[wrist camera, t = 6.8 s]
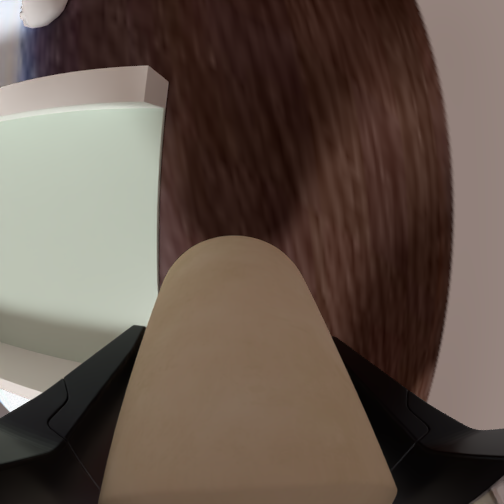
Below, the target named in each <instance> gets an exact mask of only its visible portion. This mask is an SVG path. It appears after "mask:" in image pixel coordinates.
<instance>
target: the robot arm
mask: <svg viewBox="0 0 504 504" xmlns="http://www.w3.org/2000/svg"><path fill="white" fill-rule="evenodd" d="M145 330H146V327H145V326H140V325H133V326H131V327H130V328H128V329H127V330H126V331H124V332H123V333H122V334H120V335H119V336H118V337H116V338H115V339H114V340H112V341H111V342H110V343H108V344H107V345H106V346H104V347H103V348H102V349H100V350H99V351H98V352H96V353H95V354H94V355H92V356H91V357H90V358H88V359H87V360H86V361H84V362H83V363H82V364H80V365H79V366H78V367H76V368H75V369H74V370H72V371H71V372H70V373H69V374H67V375H66V376H65V377H64V379H63V378H62V379H60V380H59V381H58V382H57V383H55V384H54V385H52V386H51V387H50V388H48V389H47V390H46V391H44V392H43V393H41V394H40V395H38V396H36V397H35V398H33V399H32V400H30V401H28V402H27V403H25V404H23V405H22V406H20V407H18V408H17V409H15V410H13V411H12V412H10V413H8V414H7V415H5V416H3V417H2V418H0V504H98V501H99V496H100V491H101V486H102V481H103V477H104V472H105V468H106V464H107V459H108V455H109V451H110V447H111V443H112V439H113V436H114V432H115V428H116V424H117V421H118V417H119V413H120V410H121V406H122V403H123V399H124V396H125V393H126V389H127V386H128V383H129V379H130V376H131V373H132V370H133V366H134V363H135V360H136V357H137V354H138V351H139V348H140V345H141V342H142V339H143V336H144V333H145ZM331 337H332V339H333V341H334V344H335V346H336V348H337V350H338V352H339V354H340V357H341V359H342V361H343V363H344V365H345V368H346V370H347V372H348V374H349V376H350V379H351V381H352V383H353V385H354V388H355V390H356V392H357V394H358V397H359V399H360V401H361V403H362V406H363V408H364V410H365V412H366V415H367V417H368V419H369V422H370V424H371V426H372V429H373V431H374V433H375V436H376V438H377V440H378V443H379V445H380V448H381V450H382V452H383V455H384V457H385V460H386V462H387V465H388V467H389V470H390V472H391V474H392V477H393V479H394V482H395V485H396V487H397V495H396V497H395V499H394V501H393V503H392V504H504V429H495V430H476V429H472V428H469V427H467V426H465V425H463V424H462V423H460V422H458V421H456V420H455V419H453V418H451V417H449V416H447V415H446V414H444V413H442V412H441V411H439V410H437V409H436V408H434V407H433V406H431V405H429V404H428V403H426V402H425V401H423V400H422V399H420V398H419V397H417V396H416V395H415V394H413V393H412V392H410V391H407V389H406V388H405V387H403V386H402V385H401V384H399V383H398V382H396V381H395V380H394V379H392V378H391V377H390V376H388V375H387V374H385V373H384V372H383V371H381V370H380V369H379V368H377V367H376V366H375V365H373V364H372V363H370V362H369V361H368V360H366V359H365V358H364V357H362V356H361V355H360V354H358V353H357V352H355V351H354V350H353V349H351V348H350V347H349V346H347V345H346V344H345V343H343V342H342V341H341V340H339V339H338V338H336V337H334V336H331Z"/></svg>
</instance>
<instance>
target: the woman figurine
mask: <svg viewBox="0 0 504 504" xmlns="http://www.w3.org/2000/svg"><path fill="white" fill-rule="evenodd" d="M67 1H68V0H22V6H21V8H22V11H21V12H20V19H21V20H22V19H23V23H24V26H26V27H29V28H38V27H43V26H46V25H48V24H50V23H51V22H52V21H53V20H55V19H56V18H57V17H58V16H59V15H60V14H61V13H62V12H63V10H64V9H65V6H66V4H67Z"/></svg>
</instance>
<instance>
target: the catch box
mask: <svg viewBox="0 0 504 504" xmlns="http://www.w3.org/2000/svg"><path fill="white" fill-rule="evenodd" d="M168 85H169V82H168V81H167V80H166V79H165V78H163V77H162V76H161V75H160V74H158V73H157V72H156V71H155V70H153V69H152V68H151V67H150V66H127V67H113V68H102V69H92V70H84V71H76V72H69V73H63V74H57V75H51V76H46V77H41V78H36V79H31V80H26V81H22V82H18V83H14V84H10V85H6V86H2V87H0V389H3V390H6V391H8V392H11V393H13V394H16V395H19V396H22V397H24V398H27V399H30V400H32V399H33V398H35V397H36V396H38V395H40V394H41V393H43V392H44V391H46V390H47V389H48V388H50V387H51V386H52V385H54V384H55V383H57V382H58V381H59V380H60V379H62V378H63V379H64V377H65V376H66V375H67V374H69V373H70V372H71V371H72V370H74V369H75V368H76V367H78V366H79V365H80V364H82V363H83V362H84V361H86V360H87V359H88V358H90V357H91V356H92V355H94V354H95V353H96V352H98V351H99V350H100V349H102V348H103V347H104V346H106V345H107V344H108V343H110V342H111V341H112V340H114V339H115V338H116V337H118V336H119V335H120V334H122V333H123V332H124V331H126V330H127V329H128V328H130V327H131V326H133V325H140V326H145V327H147V324H148V321H149V319H150V316H151V313H152V310H153V307H154V305H155V302H156V299H157V296H158V294H159V198H160V175H161V158H162V144H163V132H164V121H165V111H166V102H167V93H168Z"/></svg>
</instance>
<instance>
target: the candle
mask: <svg viewBox="0 0 504 504" xmlns="http://www.w3.org/2000/svg"><path fill="white" fill-rule="evenodd" d="M396 495H397V487H396V485H395V482H394V479H393V477H392V474H391V472H390V470H389V467H388V465H387V462H386V460H385V457H384V455H383V452H382V450H381V448H380V445H379V443H378V440H377V438H376V436H375V433H374V431H373V429H372V426H371V424H370V422H369V419H368V417H367V415H366V412H365V410H364V408H363V406H362V403H361V401H360V399H359V397H358V394H357V392H356V390H355V388H354V385H353V383H352V381H351V379H350V376H349V374H348V372H347V370H346V368H345V365H344V363H343V361H342V359H341V357H340V354H339V352H338V350H337V348H336V346H335V344H334V341H333V339H332V337H331V335H330V333H329V331H328V329H327V326H326V324H325V322H324V320H323V318H322V316H321V314H320V312H319V310H318V308H317V305H316V303H315V301H314V299H313V297H312V295H311V293H310V291H309V289H308V287H307V285H306V283H305V281H304V279H303V277H302V275H301V273H300V272H299V270H298V268H297V267H296V266H295V264H294V263H293V262H292V261H291V260H290V259H289V258H288V257H287V256H286V255H285V254H284V253H283V252H282V251H280V250H279V249H278V248H276V247H274V246H273V245H271V244H269V243H267V242H265V241H262V240H260V239H256V238H252V237H247V236H236V235H229V236H220V237H216V238H212V239H208V240H206V241H203V242H201V243H199V244H197V245H195V246H193V247H191V248H190V249H189V250H187V251H186V252H185V253H183V254H182V255H181V256H180V257H179V258H178V259H177V260H176V262H175V263H174V264H173V265H172V267H171V268H170V269H169V271H168V273H167V275H166V277H165V279H164V281H163V284H162V286H161V288H160V291H159V294H158V296H157V299H156V302H155V305H154V307H153V310H152V313H151V316H150V319H149V321H148V324H147V327H146V330H145V333H144V336H143V339H142V342H141V345H140V348H139V351H138V354H137V357H136V360H135V363H134V366H133V370H132V373H131V376H130V379H129V383H128V386H127V389H126V393H125V396H124V399H123V403H122V406H121V410H120V413H119V417H118V421H117V424H116V428H115V432H114V436H113V439H112V443H111V447H110V451H109V455H108V459H107V464H106V468H105V472H104V477H103V481H102V486H101V491H100V496H99V501H98V504H392V503H393V501H394V499H395V497H396Z"/></svg>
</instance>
